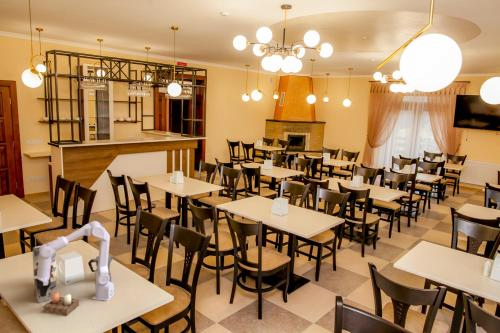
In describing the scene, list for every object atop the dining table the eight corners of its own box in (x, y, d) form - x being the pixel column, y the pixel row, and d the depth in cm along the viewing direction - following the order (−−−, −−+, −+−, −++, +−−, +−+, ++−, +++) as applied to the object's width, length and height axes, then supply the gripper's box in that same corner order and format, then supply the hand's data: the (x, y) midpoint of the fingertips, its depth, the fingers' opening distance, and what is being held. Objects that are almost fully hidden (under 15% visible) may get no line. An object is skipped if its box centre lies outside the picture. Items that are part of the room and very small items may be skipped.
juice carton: (32, 289, 202) (30, 245, 198) (50, 282, 211) (48, 240, 207) (40, 294, 198) (39, 249, 194) (58, 287, 207) (57, 243, 203)
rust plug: (60, 301, 187) (60, 292, 186) (56, 304, 183) (56, 295, 183) (55, 300, 187) (54, 291, 186) (50, 303, 184) (50, 295, 183)
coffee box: (51, 299, 194) (50, 272, 191) (38, 303, 190) (37, 275, 187) (47, 292, 200) (46, 266, 198) (34, 295, 196) (33, 269, 194)
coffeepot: (112, 274, 225) (111, 248, 222) (117, 280, 217) (116, 253, 214) (86, 281, 215) (85, 253, 212) (91, 287, 208) (90, 259, 205)
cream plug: (72, 302, 186) (72, 294, 185) (68, 306, 182) (68, 297, 182) (67, 302, 186) (66, 293, 185) (62, 305, 183) (62, 296, 182)
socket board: (79, 305, 189) (78, 299, 189) (66, 315, 180) (66, 309, 179) (57, 302, 191) (57, 296, 191) (44, 312, 181) (43, 306, 181)
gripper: (32, 263, 182) (30, 287, 184) (37, 274, 172) (34, 300, 173) (48, 261, 187) (45, 285, 188) (53, 272, 176) (50, 298, 177)
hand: (41, 292), depth 181 cm, fingers open, 7 cm apart
